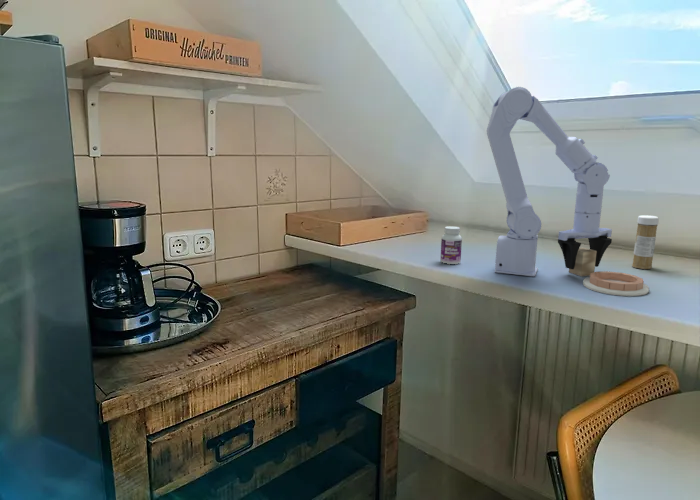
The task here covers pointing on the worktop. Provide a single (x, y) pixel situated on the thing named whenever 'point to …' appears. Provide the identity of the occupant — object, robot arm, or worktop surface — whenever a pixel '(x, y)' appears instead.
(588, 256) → the beige wooden block
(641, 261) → the sprinkles bottle
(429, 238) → the worktop surface
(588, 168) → the robot arm
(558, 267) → the worktop surface
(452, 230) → the pill bottle
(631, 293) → the collar dish
